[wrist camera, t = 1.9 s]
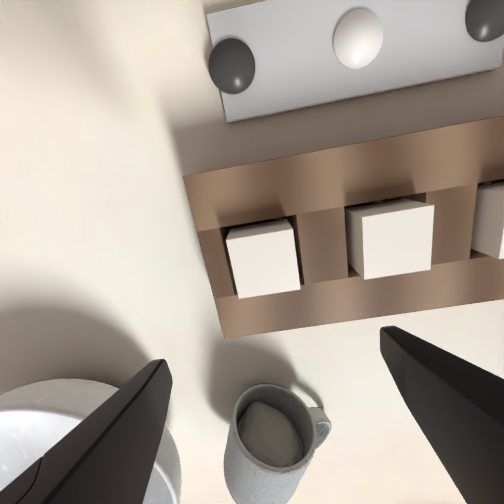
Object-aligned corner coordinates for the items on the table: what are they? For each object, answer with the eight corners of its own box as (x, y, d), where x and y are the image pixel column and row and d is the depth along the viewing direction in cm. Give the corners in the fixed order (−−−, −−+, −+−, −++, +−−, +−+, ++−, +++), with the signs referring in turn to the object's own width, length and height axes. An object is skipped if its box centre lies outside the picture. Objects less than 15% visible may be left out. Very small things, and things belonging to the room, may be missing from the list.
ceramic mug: (224, 434, 28) (215, 528, 21) (234, 378, 25) (229, 463, 18) (316, 443, 29) (338, 538, 21) (335, 390, 26) (368, 477, 19)
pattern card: (515, -52, 15) (529, -64, 14) (500, 68, 17) (512, 63, 16) (200, 21, 16) (197, 14, 15) (220, 124, 18) (219, 122, 17)
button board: (532, 111, 17) (610, 95, 14) (506, 268, 21) (561, 290, 17) (197, 174, 19) (182, 176, 15) (229, 310, 23) (224, 338, 19)
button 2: (286, 218, 17) (293, 228, 15) (293, 270, 19) (300, 289, 16) (230, 228, 18) (225, 240, 15) (241, 278, 19) (238, 298, 16)
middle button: (404, 198, 17) (434, 205, 14) (402, 253, 18) (430, 269, 15) (344, 208, 17) (362, 217, 14) (347, 262, 18) (364, 279, 16)
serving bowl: (185, 346, 24) (160, 412, 18) (202, 484, 31) (188, 569, 25) (-25, 347, 25) (-126, 412, 18) (37, 483, 31) (-19, 567, 25)
